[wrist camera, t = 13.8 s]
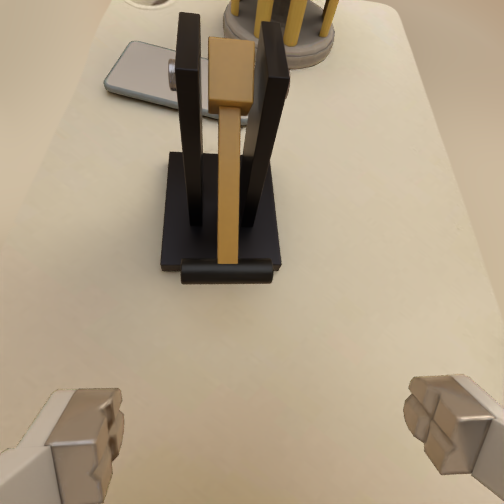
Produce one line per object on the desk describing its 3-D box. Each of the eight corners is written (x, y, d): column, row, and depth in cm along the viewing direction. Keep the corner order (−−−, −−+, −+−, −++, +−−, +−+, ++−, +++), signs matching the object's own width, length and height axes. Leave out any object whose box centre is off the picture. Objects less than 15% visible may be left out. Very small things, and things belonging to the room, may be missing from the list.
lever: (266, 278, 19) (274, 288, 17) (183, 278, 18) (179, 289, 16) (273, 65, 17) (284, 43, 15) (181, 56, 16) (177, 32, 14)
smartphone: (250, 122, 30) (99, 84, 30) (249, 130, 31) (102, 93, 31) (264, 72, 34) (131, 37, 34) (262, 80, 35) (132, 47, 35)
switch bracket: (278, 271, 25) (348, 135, 12) (162, 271, 23) (112, 121, 11) (267, 165, 29) (309, -7, 17) (170, 160, 28) (142, -28, 16)
